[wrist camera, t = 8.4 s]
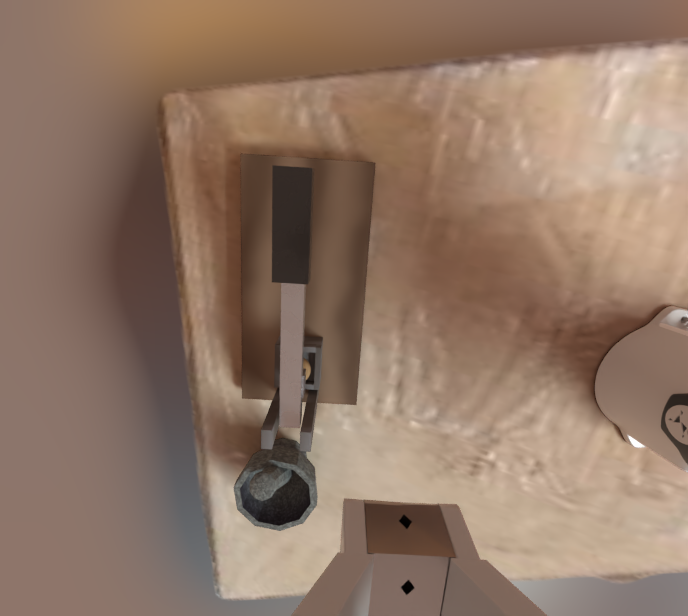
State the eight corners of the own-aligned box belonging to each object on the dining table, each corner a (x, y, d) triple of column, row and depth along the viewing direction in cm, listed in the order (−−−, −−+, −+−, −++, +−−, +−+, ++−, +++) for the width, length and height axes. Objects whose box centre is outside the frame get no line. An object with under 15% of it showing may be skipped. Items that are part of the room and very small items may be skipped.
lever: (316, 171, 32) (312, 167, 28) (307, 413, 39) (302, 439, 35) (281, 169, 32) (272, 165, 28) (278, 412, 39) (270, 437, 35)
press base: (373, 165, 40) (387, 143, 28) (355, 397, 47) (359, 463, 35) (245, 156, 40) (200, 130, 28) (246, 390, 47) (210, 455, 35)
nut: (312, 352, 41) (309, 363, 38) (311, 377, 42) (308, 389, 39) (285, 351, 41) (280, 361, 38) (284, 375, 42) (280, 388, 39)
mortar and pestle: (322, 487, 51) (315, 568, 39) (254, 491, 51) (228, 573, 39) (315, 414, 48) (306, 478, 37) (243, 418, 48) (212, 483, 37)
